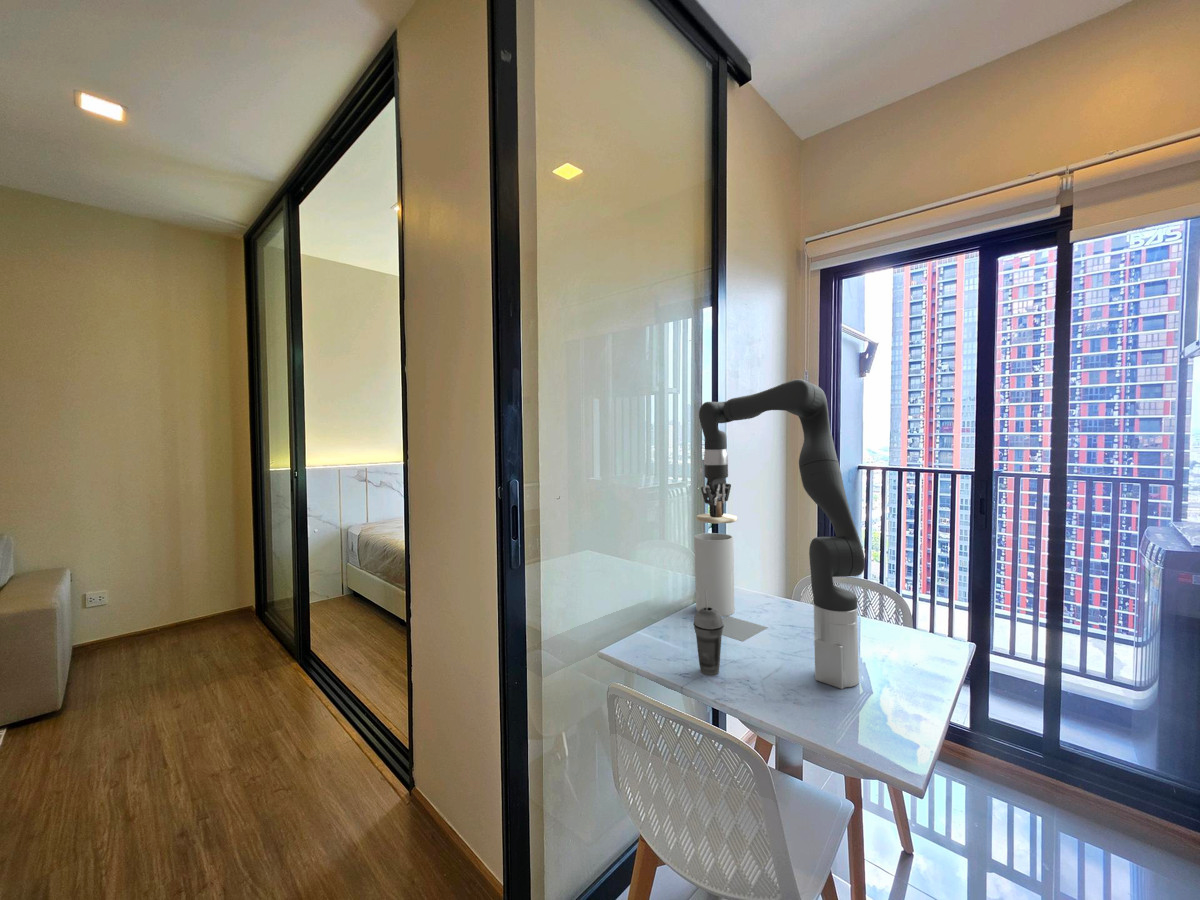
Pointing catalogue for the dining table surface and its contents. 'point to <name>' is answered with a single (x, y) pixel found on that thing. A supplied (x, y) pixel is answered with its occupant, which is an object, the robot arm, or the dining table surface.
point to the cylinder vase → (715, 572)
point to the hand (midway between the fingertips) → (716, 515)
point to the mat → (740, 628)
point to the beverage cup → (708, 639)
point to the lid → (719, 518)
